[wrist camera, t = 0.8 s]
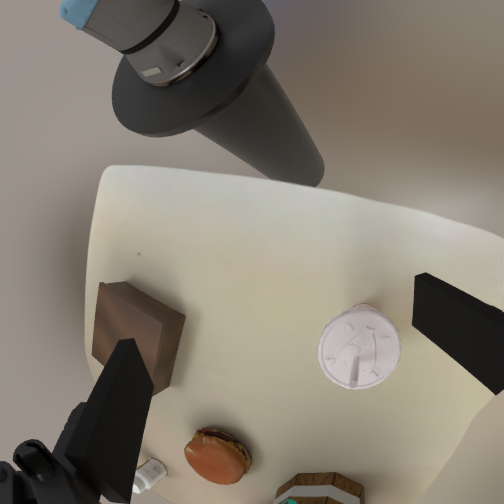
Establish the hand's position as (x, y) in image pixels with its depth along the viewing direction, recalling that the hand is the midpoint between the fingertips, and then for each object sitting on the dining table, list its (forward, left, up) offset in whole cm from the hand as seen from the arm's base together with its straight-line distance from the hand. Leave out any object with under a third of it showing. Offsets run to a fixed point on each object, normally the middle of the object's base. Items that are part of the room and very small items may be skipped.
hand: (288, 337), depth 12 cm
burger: (+28, -5, -19) cm, 34 cm away
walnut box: (+16, -22, -18) cm, 33 cm away
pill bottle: (+43, -15, -19) cm, 50 cm away
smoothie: (+2, +4, -19) cm, 19 cm away
